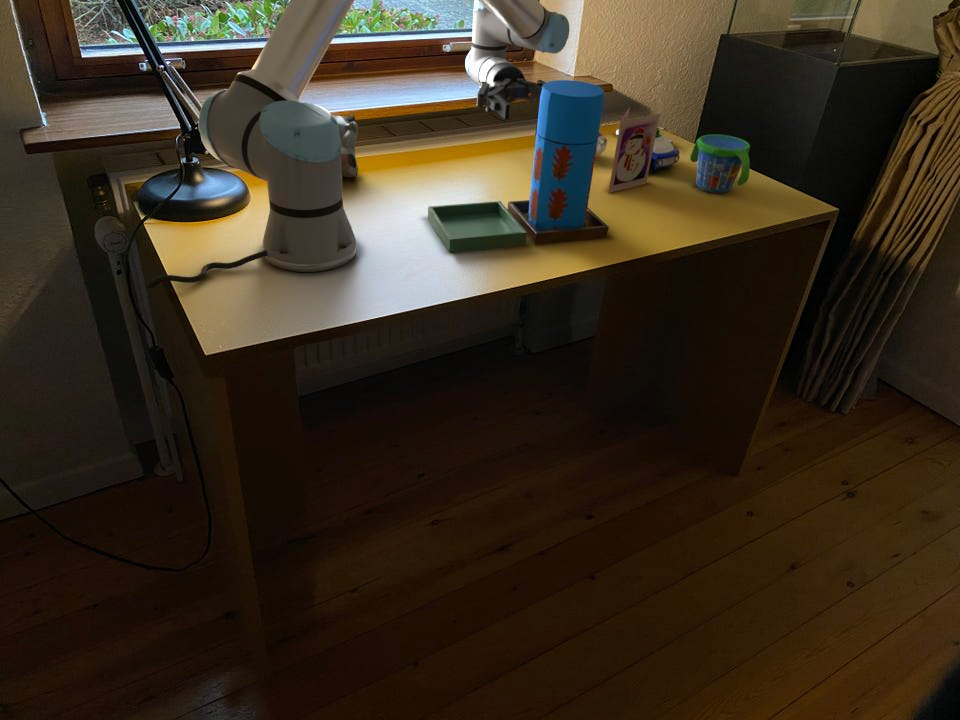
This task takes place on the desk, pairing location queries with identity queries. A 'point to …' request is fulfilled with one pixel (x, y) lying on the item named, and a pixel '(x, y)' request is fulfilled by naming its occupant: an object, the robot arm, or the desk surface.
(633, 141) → the greeting card
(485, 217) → the sage tray
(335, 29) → the robot arm
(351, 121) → the lucky cat figurine
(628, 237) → the desk surface
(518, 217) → the walnut frame
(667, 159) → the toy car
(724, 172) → the snack cup
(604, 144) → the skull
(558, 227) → the thermos
